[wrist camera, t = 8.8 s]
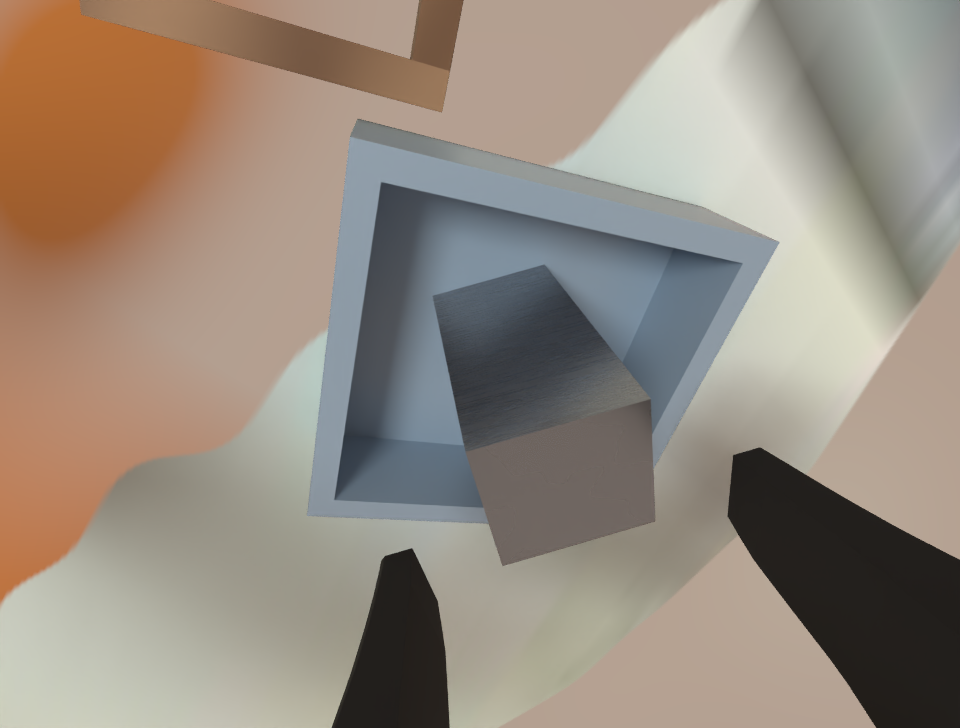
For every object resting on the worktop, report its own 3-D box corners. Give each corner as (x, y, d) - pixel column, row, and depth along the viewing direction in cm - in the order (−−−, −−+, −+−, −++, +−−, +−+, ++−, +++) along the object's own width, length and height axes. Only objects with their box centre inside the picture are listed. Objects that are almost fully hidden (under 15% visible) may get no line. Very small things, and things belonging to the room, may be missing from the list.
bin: (319, 438, 20) (307, 515, 17) (357, 118, 14) (350, 136, 11) (585, 461, 23) (619, 529, 20) (703, 207, 17) (779, 242, 14)
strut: (460, 387, 19) (502, 566, 12) (432, 295, 17) (465, 451, 10) (559, 359, 19) (655, 521, 12) (544, 264, 17) (650, 398, 10)
